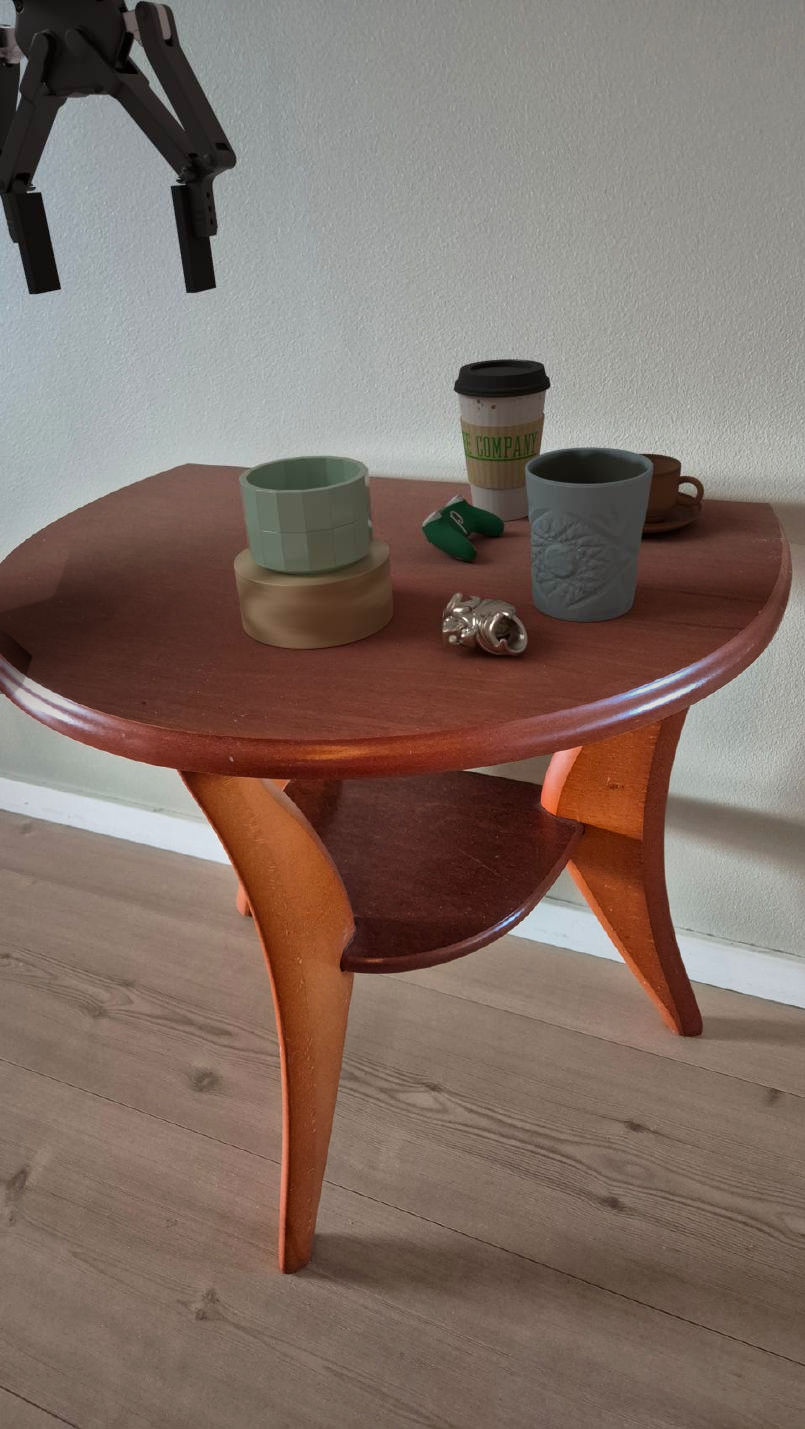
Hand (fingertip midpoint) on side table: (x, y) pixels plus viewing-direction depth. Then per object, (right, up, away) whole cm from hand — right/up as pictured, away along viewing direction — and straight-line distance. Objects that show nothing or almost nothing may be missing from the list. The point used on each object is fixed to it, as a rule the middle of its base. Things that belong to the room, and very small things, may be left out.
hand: (121, 292), depth 71 cm
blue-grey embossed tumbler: (+36, -21, +14) cm, 44 cm away
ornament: (+26, -25, +7) cm, 37 cm away
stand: (+13, -22, +14) cm, 29 cm away
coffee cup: (+31, -9, +36) cm, 48 cm away
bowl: (+13, -17, +11) cm, 24 cm away
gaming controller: (+26, -14, +27) cm, 40 cm away
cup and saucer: (+45, -11, +30) cm, 55 cm away
